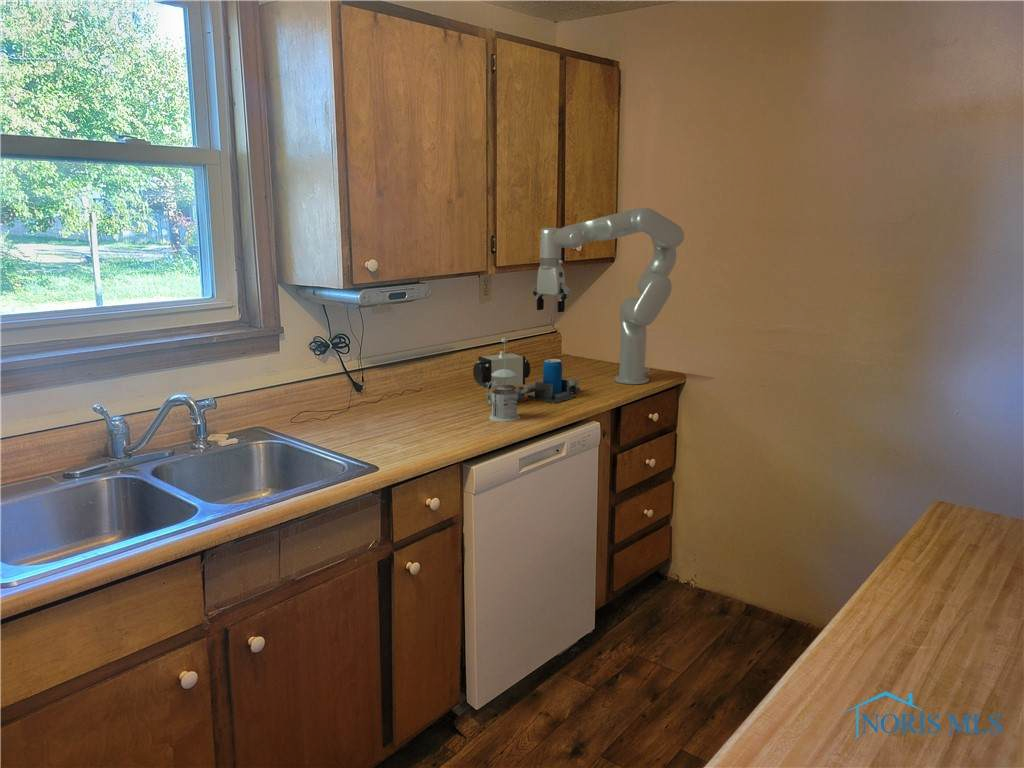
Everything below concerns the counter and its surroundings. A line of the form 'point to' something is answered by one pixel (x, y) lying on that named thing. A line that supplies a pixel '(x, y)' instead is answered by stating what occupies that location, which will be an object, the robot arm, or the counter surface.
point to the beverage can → (553, 374)
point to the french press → (503, 396)
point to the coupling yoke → (548, 391)
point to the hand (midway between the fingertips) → (550, 310)
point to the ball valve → (495, 363)
